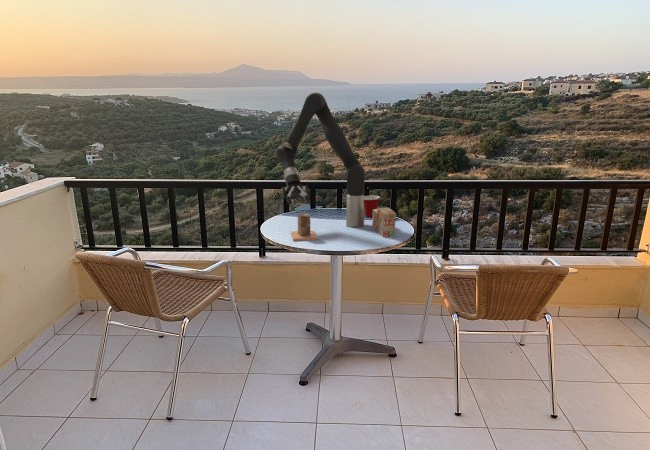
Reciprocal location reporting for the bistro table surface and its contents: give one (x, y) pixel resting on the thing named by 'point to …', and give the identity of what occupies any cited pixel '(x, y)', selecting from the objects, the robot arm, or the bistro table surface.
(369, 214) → the plastic cup
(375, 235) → the bistro table surface
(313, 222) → the bistro table surface
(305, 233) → the walnut block
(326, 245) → the bistro table surface
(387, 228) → the stack of blocks
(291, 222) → the bistro table surface
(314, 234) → the terracotta tile
